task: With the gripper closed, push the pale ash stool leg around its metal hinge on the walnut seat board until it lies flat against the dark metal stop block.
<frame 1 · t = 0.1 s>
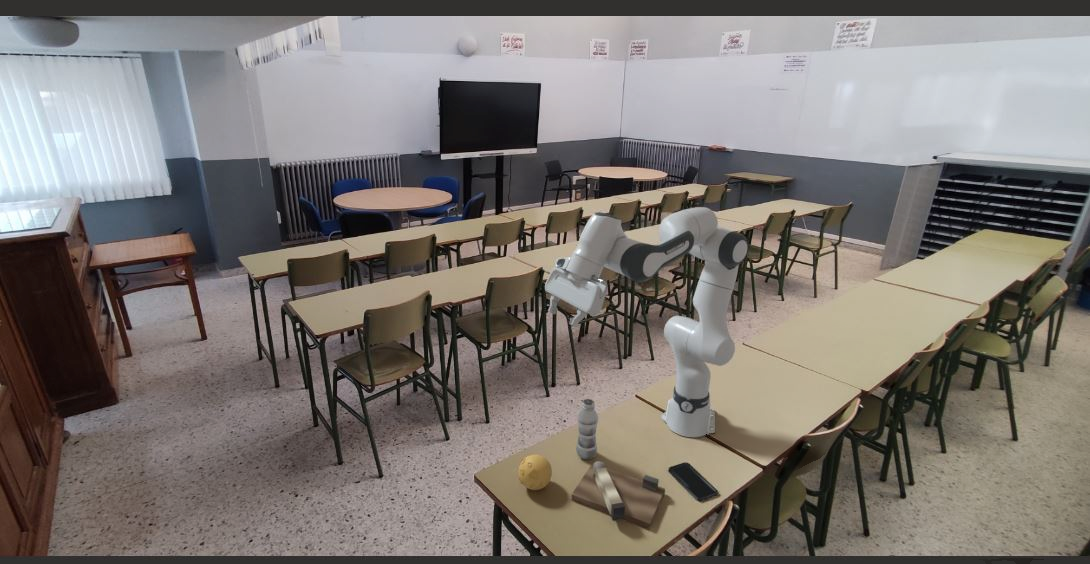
hand: (561, 319, 136), 54 cm above the table, tool tilted 30°, fingers open, 8 cm apart
stress ball: (534, 486, 155), on the table
phone: (692, 483, 157), on the table
plastic bottle: (586, 456, 168), on the table
stool leg: (607, 489, 148), point 4 cm above the table, hinge at -50.0°
seat board: (618, 496, 151), on the table
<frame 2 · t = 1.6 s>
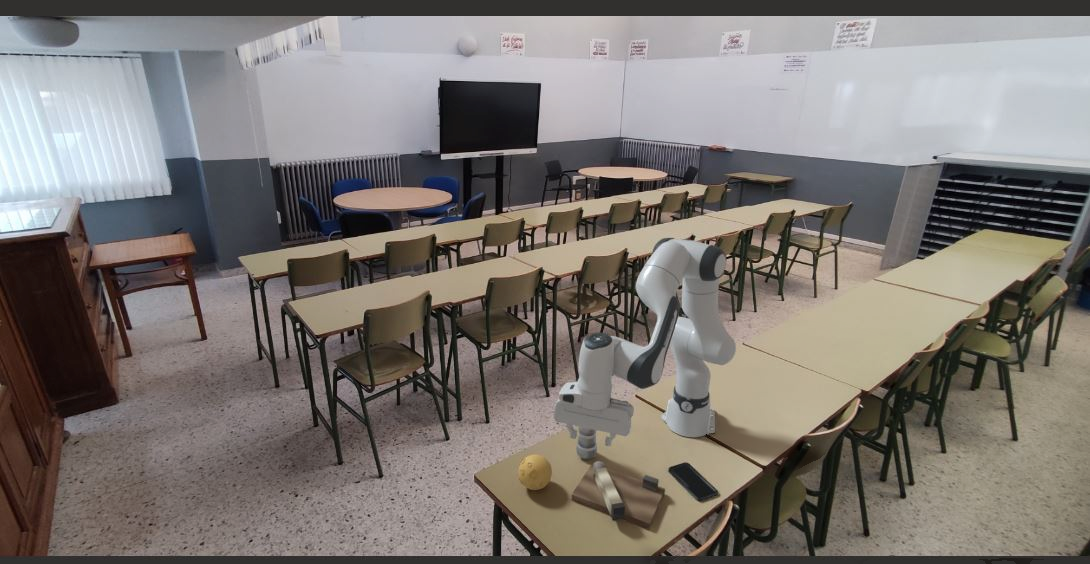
hand: (590, 440, 138), 23 cm above the table, tool pointing down, fingers open, 8 cm apart
nothing on the table moved.
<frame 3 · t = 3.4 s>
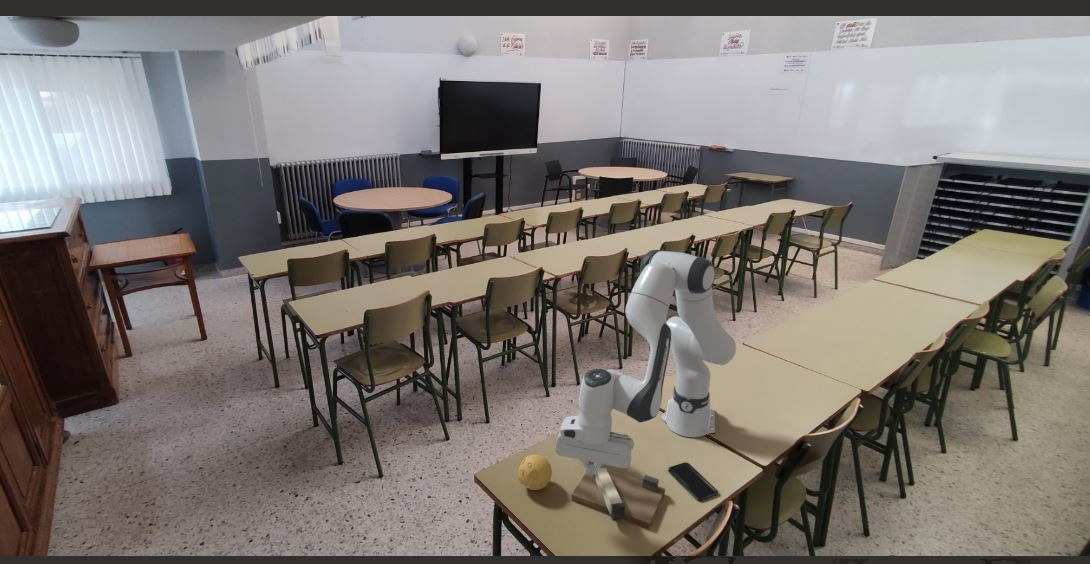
hand: (591, 472, 141), 13 cm above the table, tool pointing down, fingers closed
nothing on the table moved.
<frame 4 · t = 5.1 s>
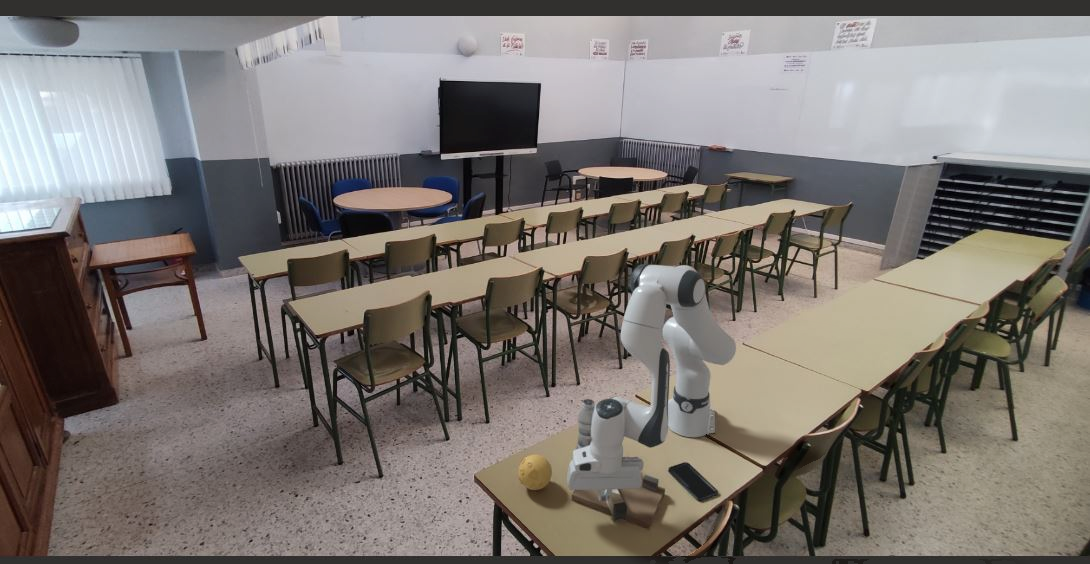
hand: (602, 499, 144), 4 cm above the table, tool pointing down, fingers closed
stool leg: (608, 488, 148), point 4 cm above the table, hinge at -48.1°, touching gripper
everything else where it was.
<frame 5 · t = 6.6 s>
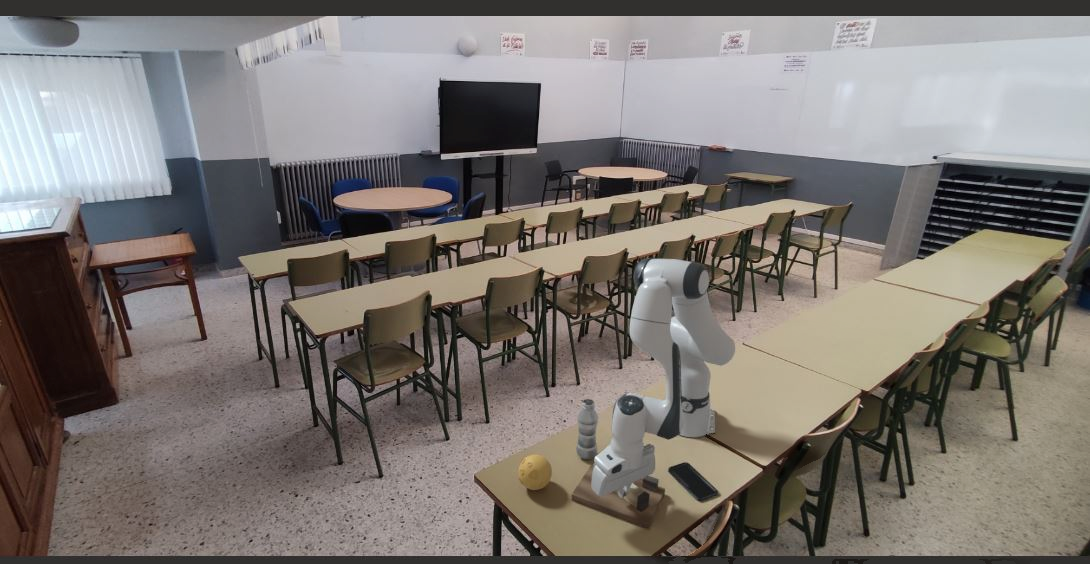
hand: (622, 495, 146), 4 cm above the table, tool pointing down, fingers closed
stool leg: (619, 484, 150), point 4 cm above the table, hinge at -20.8°, touching gripper
everything else where it was.
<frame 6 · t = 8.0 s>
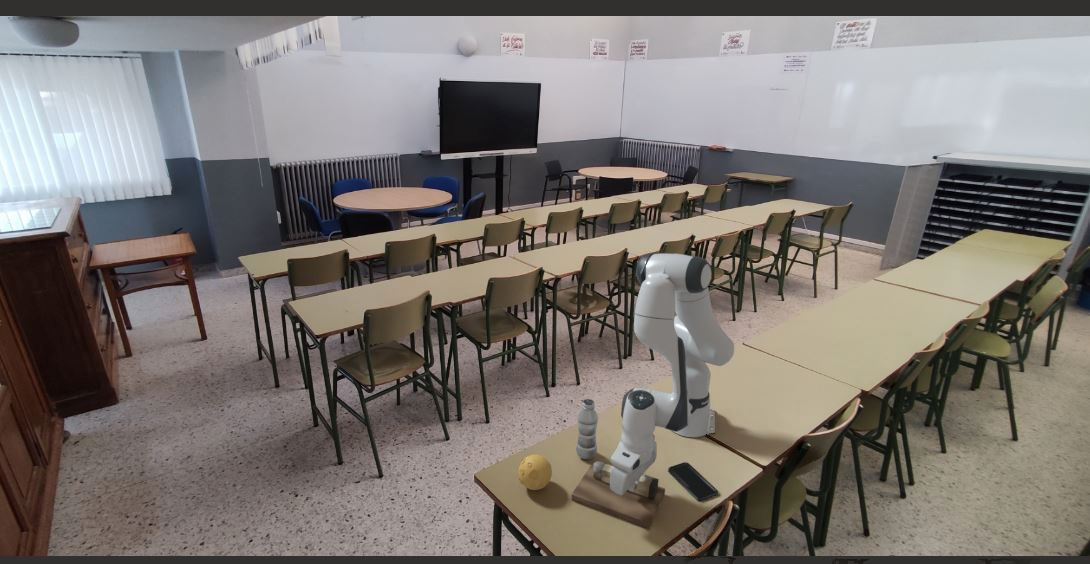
hand: (632, 489, 148), 4 cm above the table, tool pointing down, fingers closed
stool leg: (624, 479, 152), point 4 cm above the table, hinge at -0.1°, touching gripper
everything else where it was.
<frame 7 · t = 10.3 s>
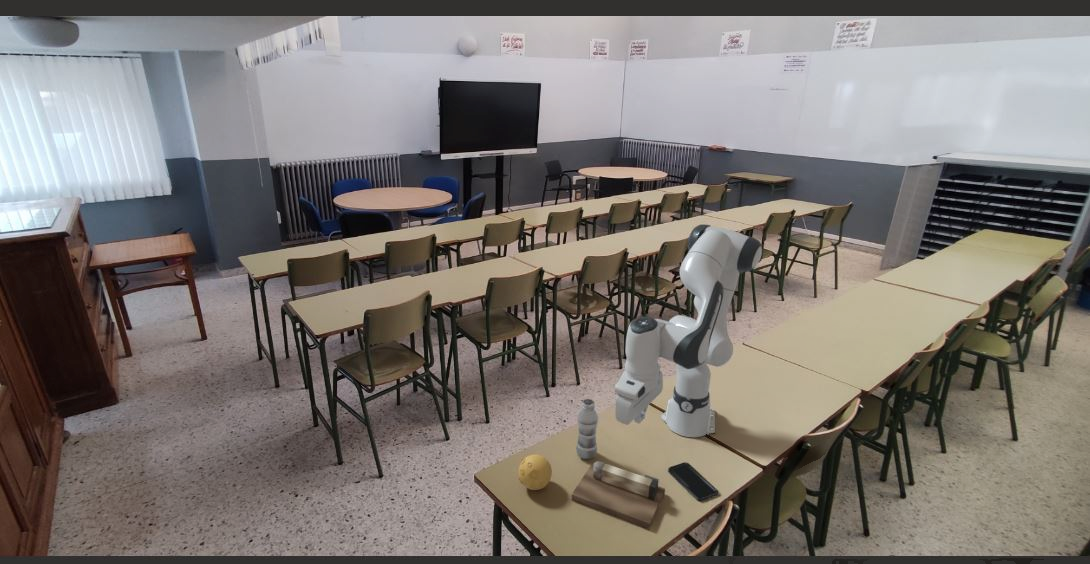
hand: (639, 420, 143), 25 cm above the table, tool pointing down, fingers closed
stool leg: (624, 479, 152), point 4 cm above the table, hinge at 0.0°
everything else where it was.
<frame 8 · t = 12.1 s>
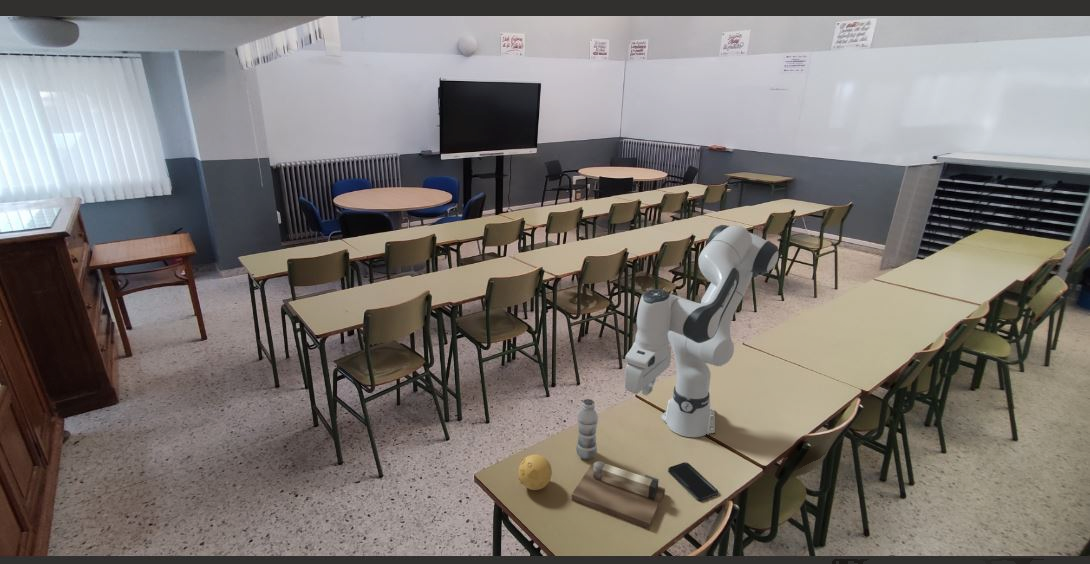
hand: (647, 392, 146), 31 cm above the table, tool pointing down, fingers closed
nothing on the table moved.
at the end: stool leg at +0° (first picture: -50°) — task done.
